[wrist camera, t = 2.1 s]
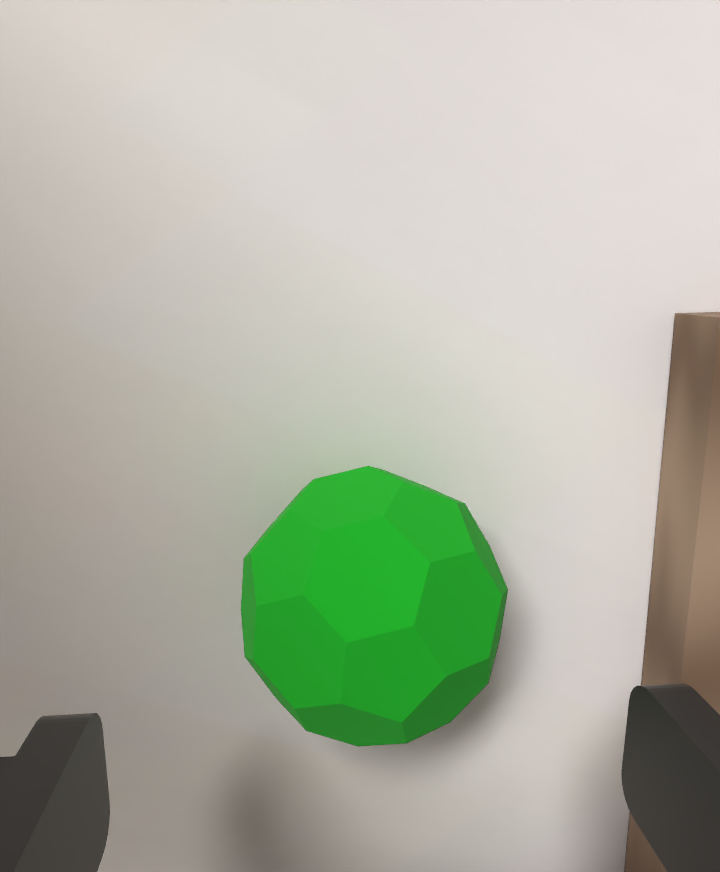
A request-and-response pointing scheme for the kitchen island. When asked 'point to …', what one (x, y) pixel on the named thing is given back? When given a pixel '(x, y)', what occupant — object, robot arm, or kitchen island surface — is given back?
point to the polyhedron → (372, 608)
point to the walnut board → (686, 536)
